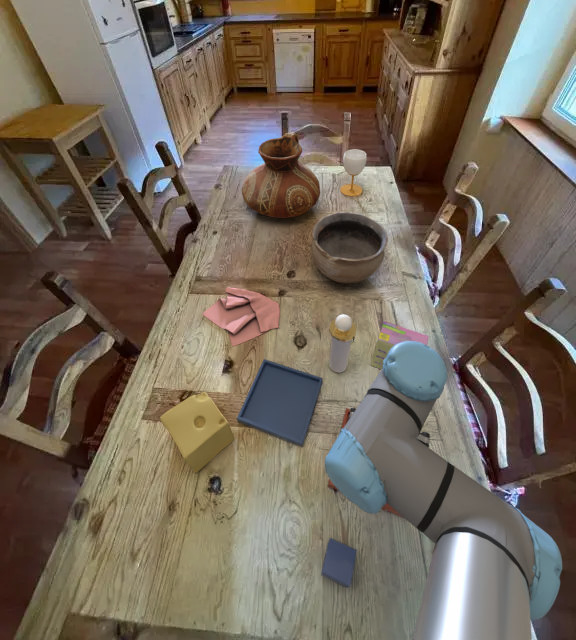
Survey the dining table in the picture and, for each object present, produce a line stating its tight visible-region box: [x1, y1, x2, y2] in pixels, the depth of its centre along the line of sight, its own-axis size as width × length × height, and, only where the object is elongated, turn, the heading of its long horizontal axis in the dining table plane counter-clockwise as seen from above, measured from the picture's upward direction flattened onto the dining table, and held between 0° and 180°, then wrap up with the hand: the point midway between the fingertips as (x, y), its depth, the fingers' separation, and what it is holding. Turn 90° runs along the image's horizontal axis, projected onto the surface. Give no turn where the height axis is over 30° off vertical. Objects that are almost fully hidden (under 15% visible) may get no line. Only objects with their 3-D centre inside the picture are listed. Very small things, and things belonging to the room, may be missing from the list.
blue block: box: [320, 537, 358, 588], centre depth 56 cm, size 4×4×6 cm
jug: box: [241, 132, 321, 219], centre depth 127 cm, size 30×30×25 cm
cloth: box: [201, 287, 281, 347], centre depth 97 cm, size 20×22×2 cm
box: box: [370, 320, 430, 370], centre depth 81 cm, size 10×6×12 cm, turn 65°
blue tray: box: [236, 358, 324, 448], centre depth 78 cm, size 15×15×2 cm
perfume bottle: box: [328, 313, 357, 373], centre depth 78 cm, size 6×6×20 cm
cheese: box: [159, 391, 236, 474], centre depth 70 cm, size 10×11×10 cm
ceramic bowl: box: [310, 211, 389, 284], centre depth 103 cm, size 22×22×15 cm
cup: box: [340, 148, 368, 197], centre depth 135 cm, size 9×9×16 cm
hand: (374, 458), depth 69 cm, fingers closed on red block, 4 cm apart
